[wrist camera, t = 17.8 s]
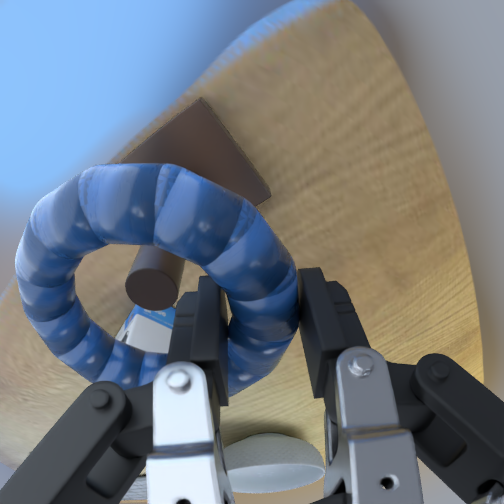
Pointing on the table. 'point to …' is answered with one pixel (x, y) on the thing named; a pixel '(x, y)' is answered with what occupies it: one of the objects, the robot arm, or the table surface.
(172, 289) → the stand
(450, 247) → the table surface
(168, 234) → the blue teething ring
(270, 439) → the cereal bowl
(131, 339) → the ink box
